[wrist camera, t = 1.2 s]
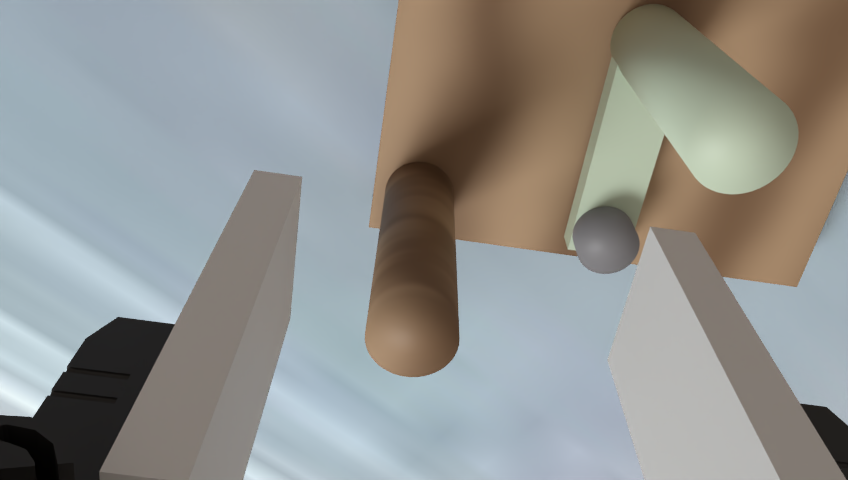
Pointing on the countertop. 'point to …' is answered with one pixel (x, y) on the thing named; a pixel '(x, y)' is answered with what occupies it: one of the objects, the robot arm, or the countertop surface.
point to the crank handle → (670, 130)
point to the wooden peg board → (575, 147)
